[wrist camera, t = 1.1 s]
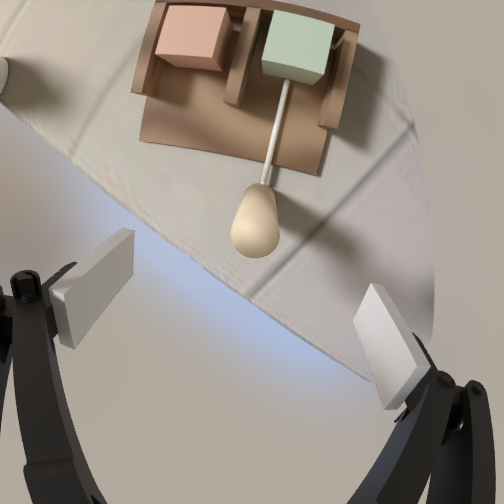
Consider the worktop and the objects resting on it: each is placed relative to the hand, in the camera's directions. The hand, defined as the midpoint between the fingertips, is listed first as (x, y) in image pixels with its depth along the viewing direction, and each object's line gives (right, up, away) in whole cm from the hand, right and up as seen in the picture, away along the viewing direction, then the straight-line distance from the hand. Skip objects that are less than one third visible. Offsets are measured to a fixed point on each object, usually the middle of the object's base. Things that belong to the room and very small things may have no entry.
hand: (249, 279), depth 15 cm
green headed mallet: (+3, +14, +12) cm, 19 cm away
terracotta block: (-5, +22, +8) cm, 24 cm away
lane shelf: (-1, +19, +10) cm, 21 cm away
